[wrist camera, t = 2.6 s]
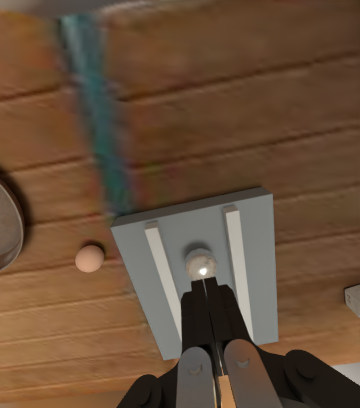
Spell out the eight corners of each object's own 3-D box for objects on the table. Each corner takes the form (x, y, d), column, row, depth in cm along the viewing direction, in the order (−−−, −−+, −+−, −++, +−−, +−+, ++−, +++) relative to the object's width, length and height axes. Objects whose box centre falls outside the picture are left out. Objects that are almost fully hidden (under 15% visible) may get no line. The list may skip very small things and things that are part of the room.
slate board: (117, 217, 26) (101, 241, 20) (261, 186, 25) (286, 202, 19) (164, 342, 35) (162, 381, 30) (269, 324, 34) (288, 361, 29)
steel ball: (181, 245, 24) (182, 266, 20) (211, 239, 24) (218, 259, 20) (187, 269, 25) (189, 293, 22) (215, 263, 25) (222, 286, 21)
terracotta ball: (79, 243, 27) (65, 258, 24) (102, 238, 27) (91, 253, 23) (88, 262, 28) (77, 280, 25) (111, 258, 28) (102, 275, 25)
